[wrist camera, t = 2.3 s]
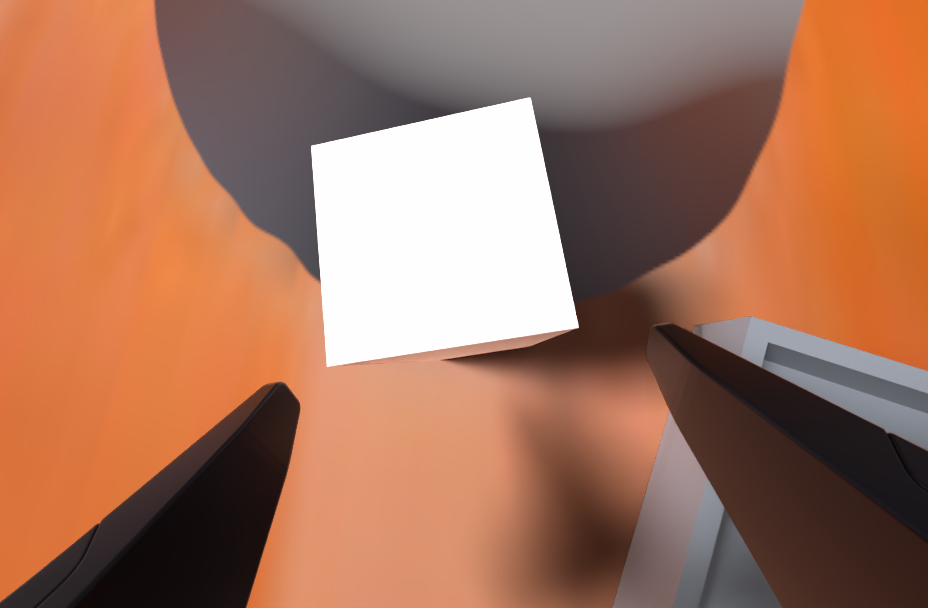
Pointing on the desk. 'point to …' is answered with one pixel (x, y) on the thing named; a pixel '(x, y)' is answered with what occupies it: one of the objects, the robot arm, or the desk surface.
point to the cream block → (439, 240)
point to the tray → (696, 503)
